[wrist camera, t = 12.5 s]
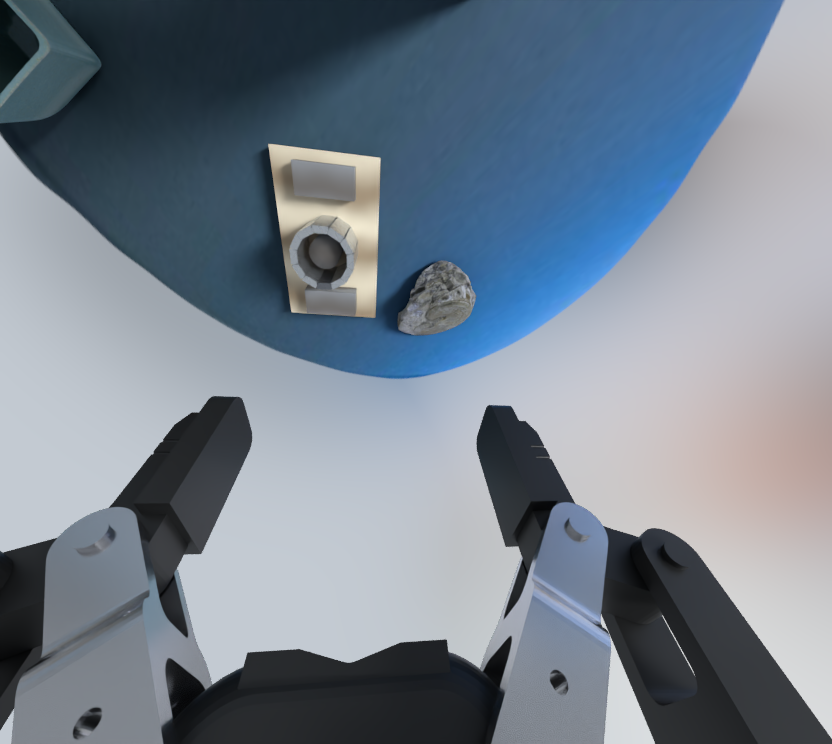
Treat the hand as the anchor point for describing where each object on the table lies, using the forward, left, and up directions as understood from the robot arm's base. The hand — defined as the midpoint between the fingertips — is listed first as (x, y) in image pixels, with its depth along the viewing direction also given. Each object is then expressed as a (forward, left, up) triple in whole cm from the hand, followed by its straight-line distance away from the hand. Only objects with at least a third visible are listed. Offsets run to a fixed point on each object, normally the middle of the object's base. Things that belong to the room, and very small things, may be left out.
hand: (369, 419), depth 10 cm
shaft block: (+2, -6, -33) cm, 34 cm away
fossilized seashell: (+9, +7, -34) cm, 35 cm away
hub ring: (+2, -6, -31) cm, 32 cm away
